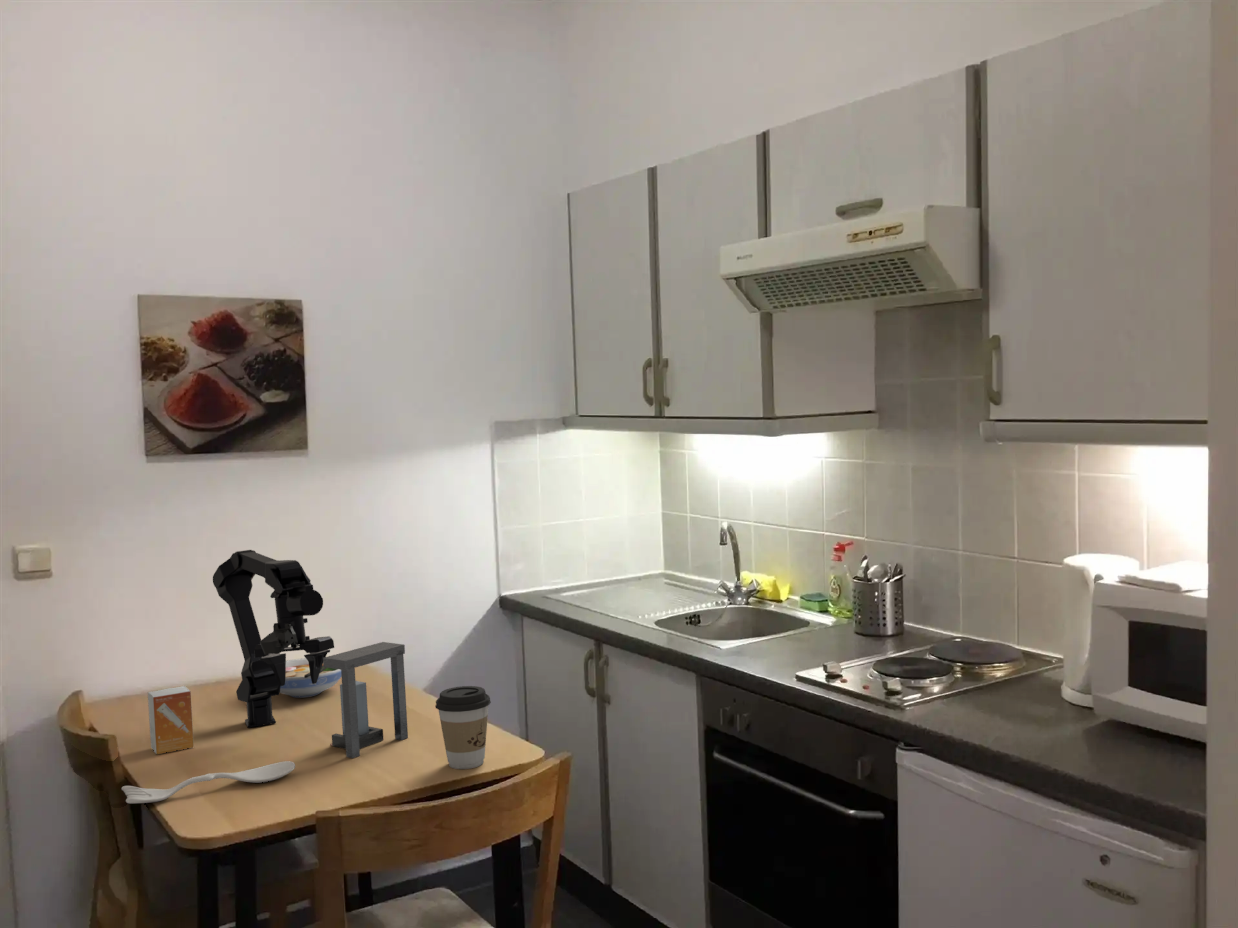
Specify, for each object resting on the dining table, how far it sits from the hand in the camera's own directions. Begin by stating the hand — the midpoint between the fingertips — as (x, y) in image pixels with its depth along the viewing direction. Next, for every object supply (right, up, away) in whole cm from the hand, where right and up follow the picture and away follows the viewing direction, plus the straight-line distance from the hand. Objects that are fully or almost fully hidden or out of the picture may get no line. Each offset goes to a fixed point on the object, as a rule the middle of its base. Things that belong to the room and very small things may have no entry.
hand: (298, 684), depth 250 cm
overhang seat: (+16, -12, -7) cm, 21 cm away
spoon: (-7, -15, -33) cm, 37 cm away
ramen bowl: (-10, -11, +39) cm, 42 cm away
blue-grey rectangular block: (+15, -11, -6) cm, 20 cm away
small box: (-27, -14, -4) cm, 31 cm away
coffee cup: (+42, -12, -24) cm, 50 cm away
